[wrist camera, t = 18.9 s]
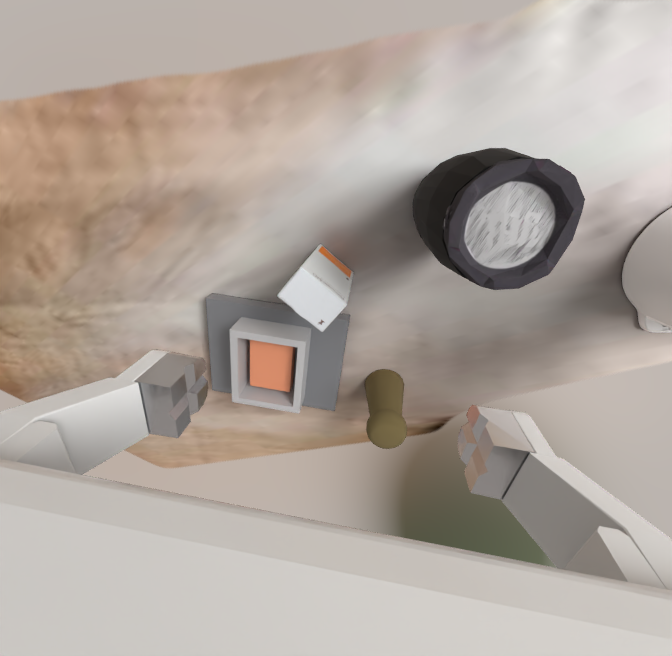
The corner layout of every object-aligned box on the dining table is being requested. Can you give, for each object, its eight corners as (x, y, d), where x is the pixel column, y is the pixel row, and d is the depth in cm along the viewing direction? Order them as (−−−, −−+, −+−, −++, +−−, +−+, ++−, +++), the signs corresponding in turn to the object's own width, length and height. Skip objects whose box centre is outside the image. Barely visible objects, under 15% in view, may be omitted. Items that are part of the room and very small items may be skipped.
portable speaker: (478, 145, 33) (595, 113, 16) (489, 231, 37) (595, 281, 20) (399, 174, 35) (427, 174, 18) (417, 253, 39) (455, 316, 22)
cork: (381, 406, 50) (384, 463, 41) (356, 383, 49) (352, 435, 39) (411, 387, 48) (421, 442, 38) (386, 362, 47) (390, 412, 37)
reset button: (296, 338, 44) (293, 345, 42) (292, 383, 48) (289, 392, 46) (254, 331, 44) (250, 338, 42) (254, 377, 48) (250, 385, 46)
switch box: (350, 315, 44) (346, 334, 38) (336, 402, 51) (331, 429, 46) (212, 293, 44) (190, 309, 39) (217, 382, 52) (199, 406, 46)
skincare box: (355, 272, 41) (349, 306, 30) (334, 294, 43) (322, 334, 32) (319, 241, 40) (300, 265, 29) (300, 265, 41) (274, 297, 31)
